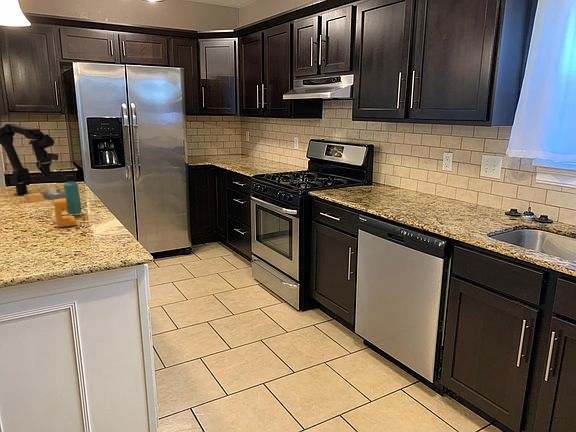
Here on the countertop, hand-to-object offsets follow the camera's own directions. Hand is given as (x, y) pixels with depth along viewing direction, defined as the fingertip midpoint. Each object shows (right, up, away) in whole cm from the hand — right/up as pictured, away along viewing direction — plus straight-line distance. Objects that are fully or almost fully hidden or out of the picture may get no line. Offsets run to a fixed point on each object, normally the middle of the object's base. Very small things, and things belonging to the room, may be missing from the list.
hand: (48, 176), depth 244 cm
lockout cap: (-5, -14, -6) cm, 16 cm away
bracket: (+38, -27, -53) cm, 71 cm away
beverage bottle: (+34, -23, -38) cm, 56 cm away
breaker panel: (+1, -11, +6) cm, 13 cm away
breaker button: (0, -10, +4) cm, 10 cm away
